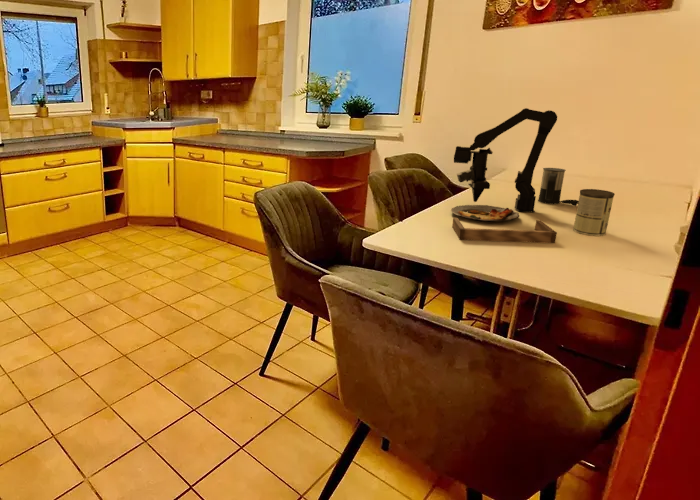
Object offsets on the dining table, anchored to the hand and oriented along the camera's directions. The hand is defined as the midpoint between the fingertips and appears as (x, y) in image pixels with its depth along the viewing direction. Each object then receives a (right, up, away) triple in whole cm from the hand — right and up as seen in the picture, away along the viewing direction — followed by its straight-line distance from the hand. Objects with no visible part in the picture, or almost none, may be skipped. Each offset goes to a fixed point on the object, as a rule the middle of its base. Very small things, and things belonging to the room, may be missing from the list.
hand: (475, 201), depth 188 cm
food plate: (-1, -8, -16) cm, 18 cm away
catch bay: (-2, -15, -39) cm, 42 cm away
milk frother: (+39, 0, +7) cm, 39 cm away
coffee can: (+30, -14, -34) cm, 47 cm away
